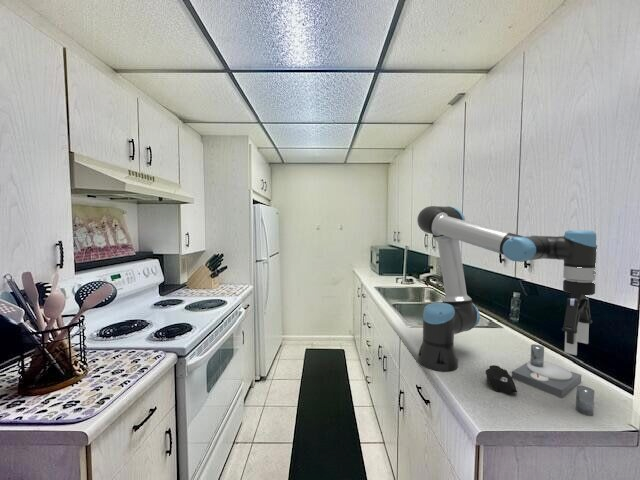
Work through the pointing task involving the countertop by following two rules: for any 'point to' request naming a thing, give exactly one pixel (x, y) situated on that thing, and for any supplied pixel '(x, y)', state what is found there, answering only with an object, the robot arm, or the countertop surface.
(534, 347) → the cylinder
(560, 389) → the scale
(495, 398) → the countertop surface
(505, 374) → the rock
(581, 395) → the cylinder
